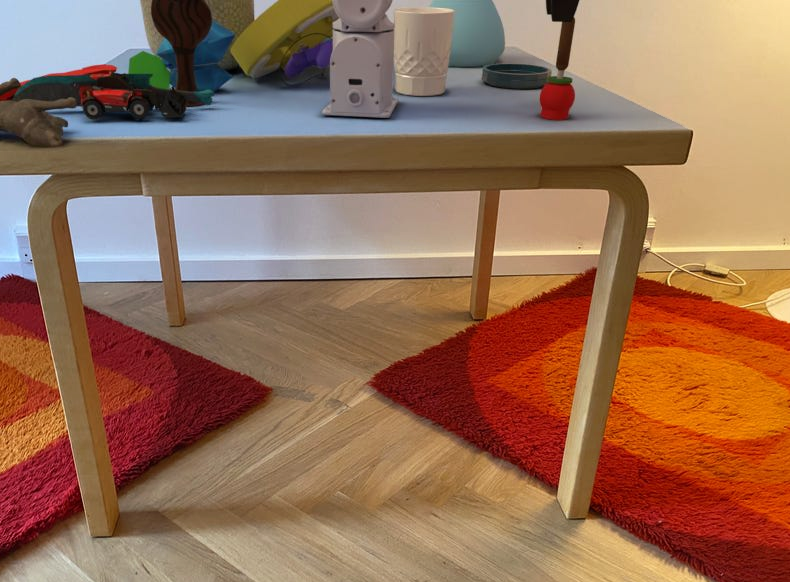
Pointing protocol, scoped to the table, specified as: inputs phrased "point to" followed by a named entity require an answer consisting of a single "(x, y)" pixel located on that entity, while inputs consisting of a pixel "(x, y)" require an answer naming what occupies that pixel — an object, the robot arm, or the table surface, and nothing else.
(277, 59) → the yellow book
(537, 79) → the dish
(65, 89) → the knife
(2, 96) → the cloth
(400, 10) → the white cup
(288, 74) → the game controller
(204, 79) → the crystal
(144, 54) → the gemstone
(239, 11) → the planter
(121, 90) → the loader
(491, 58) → the sugar bowl
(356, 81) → the robot arm
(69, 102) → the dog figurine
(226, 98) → the table surface
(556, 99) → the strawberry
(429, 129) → the table surface
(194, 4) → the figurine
